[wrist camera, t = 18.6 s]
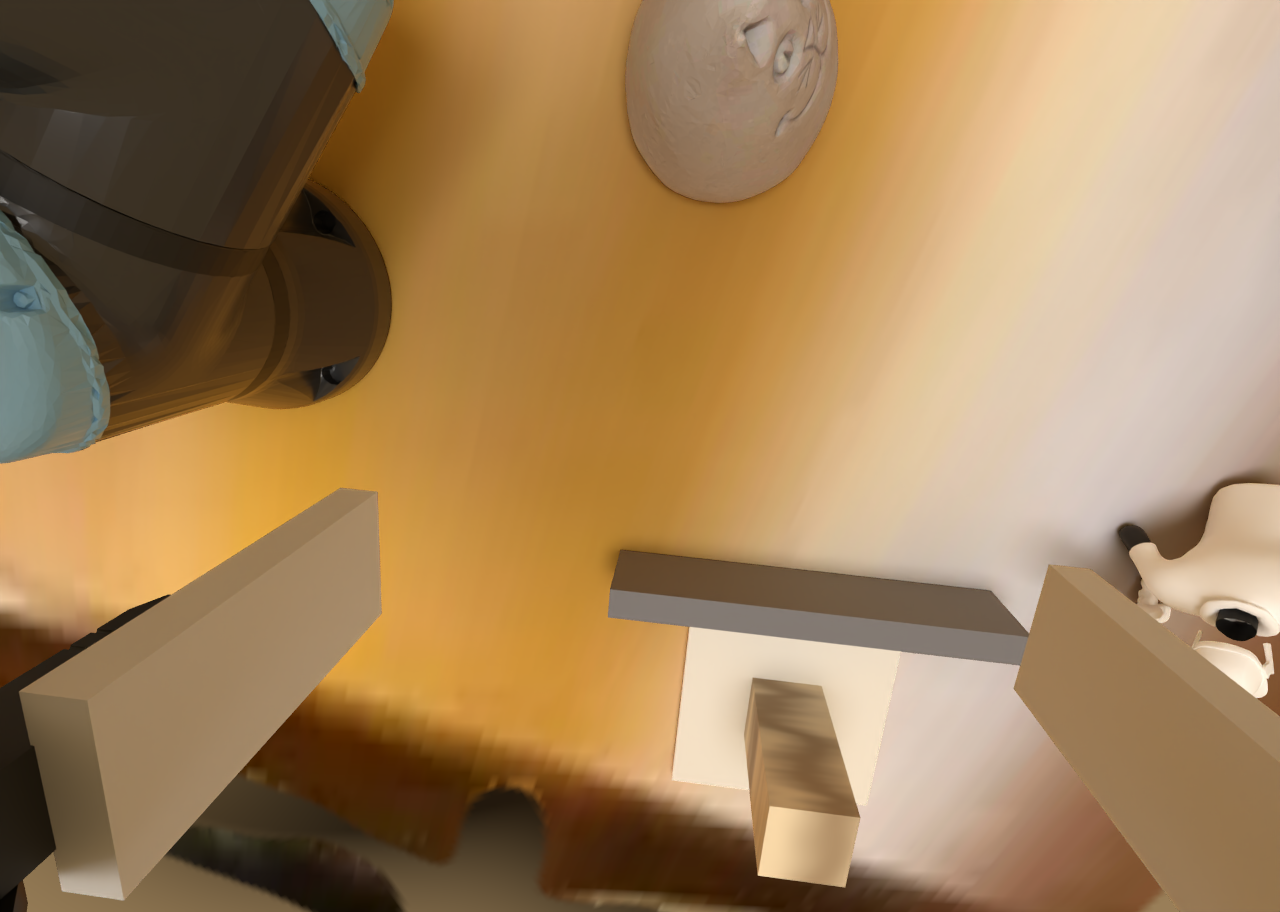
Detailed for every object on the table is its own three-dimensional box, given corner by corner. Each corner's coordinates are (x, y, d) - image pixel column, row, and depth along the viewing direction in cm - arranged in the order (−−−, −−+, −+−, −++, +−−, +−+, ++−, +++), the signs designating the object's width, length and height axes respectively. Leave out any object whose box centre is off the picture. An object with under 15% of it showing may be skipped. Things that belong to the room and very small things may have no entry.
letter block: (743, 736, 50) (757, 877, 39) (752, 677, 49) (769, 805, 37) (810, 745, 50) (844, 890, 38) (821, 685, 48) (860, 817, 37)
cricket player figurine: (1147, 554, 49) (1090, 720, 42) (1130, 445, 45) (1063, 609, 37) (1415, 590, 39) (1401, 814, 32) (1429, 455, 35) (1416, 681, 28)
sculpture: (852, 165, 40) (940, 109, 25) (663, 233, 41) (646, 217, 27) (795, -74, 36) (859, -293, 22) (594, 11, 38) (533, -139, 24)
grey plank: (618, 575, 48) (607, 617, 43) (620, 549, 48) (610, 589, 42) (984, 616, 47) (1024, 665, 41) (990, 590, 46) (1032, 637, 40)
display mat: (672, 770, 53) (671, 780, 52) (692, 602, 48) (691, 608, 47) (863, 795, 52) (866, 805, 51) (900, 625, 48) (905, 633, 47)
